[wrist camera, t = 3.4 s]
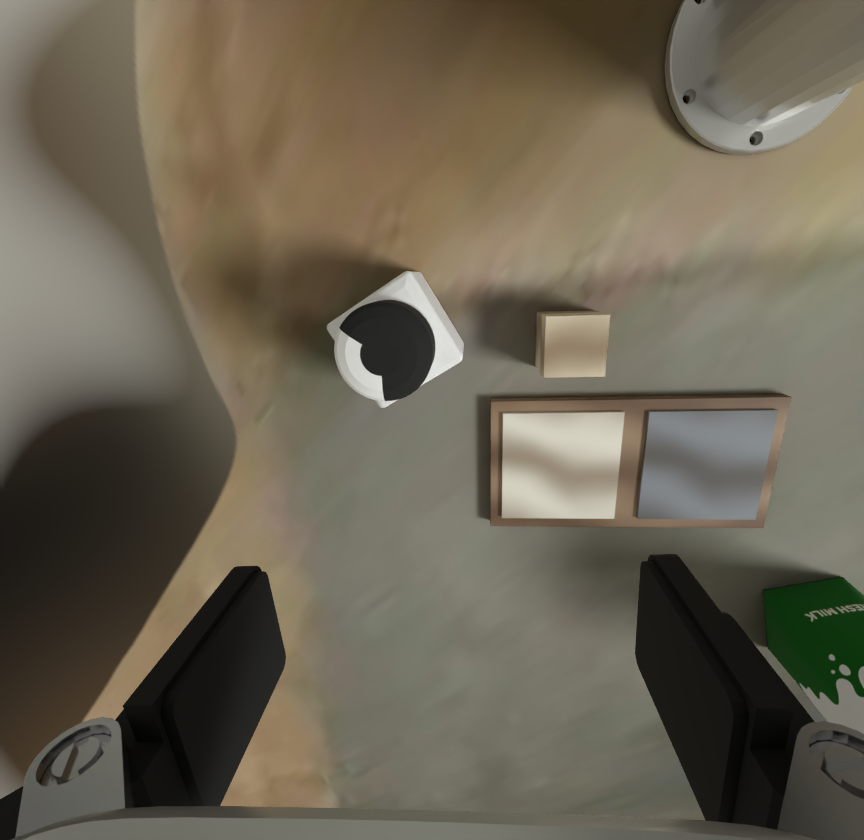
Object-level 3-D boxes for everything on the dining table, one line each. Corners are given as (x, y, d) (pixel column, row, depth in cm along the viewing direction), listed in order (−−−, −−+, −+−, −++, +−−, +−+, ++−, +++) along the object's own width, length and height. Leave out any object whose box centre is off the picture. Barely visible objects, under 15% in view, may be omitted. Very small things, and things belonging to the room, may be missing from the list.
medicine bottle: (419, 269, 36) (397, 267, 25) (465, 344, 38) (464, 375, 26) (349, 317, 38) (297, 335, 26) (395, 387, 39) (366, 433, 28)
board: (490, 398, 39) (491, 402, 38) (783, 394, 37) (793, 398, 36) (490, 520, 43) (490, 527, 41) (756, 522, 41) (765, 529, 39)
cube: (536, 311, 37) (546, 316, 32) (593, 310, 36) (610, 314, 32) (534, 366, 38) (543, 377, 34) (589, 365, 38) (604, 376, 33)
